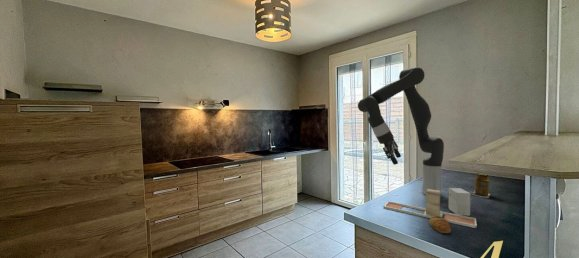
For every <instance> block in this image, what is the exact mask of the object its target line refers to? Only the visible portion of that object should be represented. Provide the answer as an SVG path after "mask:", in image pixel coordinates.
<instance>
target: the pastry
mask: <svg viewBox="0 0 579 258" xmlns="http://www.w3.org/2000/svg"><path fill="white" fill-rule="evenodd" d="M428 222H429V225H430V227H431V228H433V229H434V230H435V231H437V232H439V233H440V234H450V233H451V232H452V229H451V228H452V227H451V224H450V222H448V221H447V220H446V219H443V216H442V217H440V216H434V217H431V218H429V220H428Z"/></svg>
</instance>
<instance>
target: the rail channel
mask: <svg viewBox="0 0 579 258" xmlns="http://www.w3.org/2000/svg"><path fill="white" fill-rule="evenodd" d="M389 203H390V204H395V205H400V206H402V207H405V208H410V209H416V210H420V211H424V212H425V211H426V207H420V206H415V205H411V204H407V203H401V202H396V201H390V200H388V201H387V202H386V203H385V204H384V205H383V209H386V210H391V211H393V212H394V211H396V212H400V213H404V214H409V215H413V216H417V217H423V218H428V219H430V218H431V217H434V216H430V215H425V214H424V213H420V212H416V211H411V210H406V209H402V208H401V209H397V208H392V207H387V205H388V204H389ZM440 214H442V215H444V216H445V215H450V216H455V217H460V218H464V219H469V220H474V224H475V225H472V224H468V223H463V222H458V221H453V220H449V219H446V220H447V221H448V223H449V224H450V223H451V224H453V225H459V226H464V227H469V228H473V229H477V228H478V224H477V218H476V217H471V216H465V215H457V214H455V213H453V212H451V213H450V212H446V211H441V210H440ZM442 218H443V217H442ZM444 218H445V217H444ZM444 218H443V219H444Z"/></svg>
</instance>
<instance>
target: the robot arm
mask: <svg viewBox="0 0 579 258" xmlns="http://www.w3.org/2000/svg"><path fill="white" fill-rule="evenodd" d="M424 80H425V71H424V70H423V68H422V67H417V66H416V67H410V68H405V69H402V70H401V71H400V72H399V76H398V80H395V81H393V82H391V83H389V84H385V85H383V86H382V87H381V88H379V89H377V90H376V91H374V92H373V93H371V94H369V95H367V96H366V97H363V98H361V99H360V100H359V102H358V103H357V108H358V110H359V111H360V112H361V113H368V118H367V122H368V123H369V125H370V127H371V129H372V131H373V135H374V136H375V137H376V139H377V141H378V143H379V144H380V145H384V147H382V150H383V152H384V154H385V156H386V157H387V159H390V160H391V162H392V165H398V164H399V162H398V160H397V159H399V158H401V157H402V155H401V153H400V151H399V145H398V144H397V142H396V140H395V137H394V134H393V133H392V131H391V130H390V127H389V126H388V124H387V122H386V121H385V120H384V119H385V118H384V117H383V116H382V113H381V112H382V111H381V108H380V104H383V103H385V102H386V101H388V100H389V99H391V98H393V97H394V96H396V95H398V94H400V93H401V92H403V94H404V95H405V97H406V101H407V104H408V107H409V109H410V113H411V115H412V116H411V117H412V120H413V121H414V125H415V129H416V134H417V140H418V144H419V147H420V150H421V151H422V152H424V153H426V154H427V153H428V154H430V157H428V158H424V159H423V160H422V188H421V189H422V190H421V191H422V194H423V195H425V196H426V191H427V189H432V190H438V191H440V197H441V196H442V168H443V167H442V165H443V159H444V149H445V144H444V141H443V139H442V138H440V137H432V136H430V135H429V133H428V131H429V130H428V128H429V125H430V122H431V120H432V112H431V109H430V108H431V107H430V105H429V104H428V102H427V101H426V100H425V99H424V98H423V96H422V95H421V94H420V93H419V92H418V90H417V88H416V86H417V85H419V84H421V83H422V82H423V81H424Z"/></svg>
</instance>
